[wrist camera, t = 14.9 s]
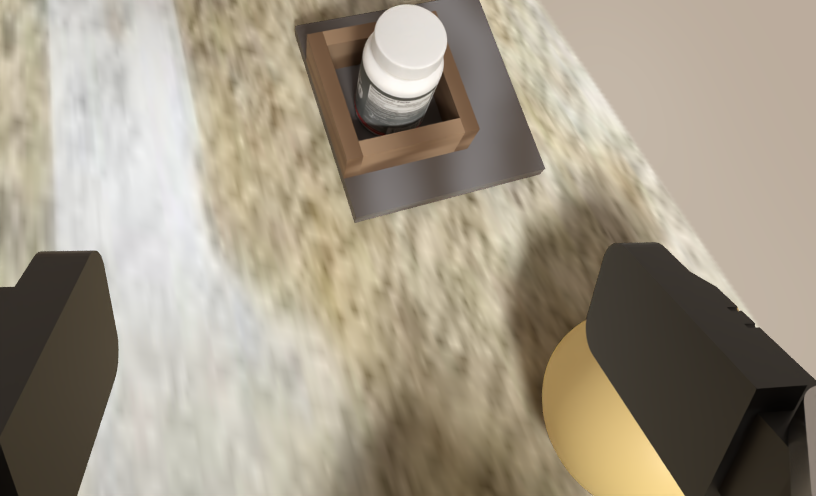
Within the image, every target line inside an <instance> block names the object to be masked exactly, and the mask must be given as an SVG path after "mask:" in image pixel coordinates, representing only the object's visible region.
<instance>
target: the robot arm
mask: <svg viewBox="0 0 816 496" xmlns="http://www.w3.org/2000/svg"><path fill="white" fill-rule="evenodd" d="M586 338H587V343H588V346H589V349H590V351H591V353H592V355H593V356H594V358H595V359H596V361H597V362H598V364H599V365H600V367H601V369H602V370H603V372H604V373H605V375H606V376H607V378H608V379H609V381H610V382H611V384H612V385H613V387H614V388H615V390H616V391H617V393H618V395H619V396H620V398H621V399H622V401H623V402H624V404H625V405H626V407H627V408H628V410H629V411H630V413H631V414H632V416H633V417H634V419H635V420H636V422H637V424H638V425H639V427H640V428H641V430H642V431H643V433H644V434H645V436H646V437H647V439H648V440H649V442H650V443H651V445H652V446H653V448H654V449H655V451H656V453H657V454H658V456H659V457H660V459H661V460H662V462H663V463H664V465H665V466H666V468H667V469H668V471H669V472H670V474H671V475H672V477H673V479H674V480H675V482H676V483H677V485H678V486H679V488H680V489H681V491H682V492H683V494H684V495H685V496H816V380H815V379H814V378H813V377H812V376H810V375H809V374H808V373H807V372H806V371H805V370H804V369H803V368H802V367H801V366H800V365H799V364H798V363H796V361H795V360H794V359H792V358H791V357H790V356H789V355H788V354H787V353H786V352H785V351H784V350H783V349H782V348H781V347H780V346H779V345H778V344H777V343H775V342H774V341H773V340H772V339H771V338H770V337H769V336H768V335H767V334H766V333H765V332H764V331H763V330H762V329H761V328H755V323H754V322H753V321H752V320H751V319H750V318H749V317H748V316H747V315H746V314H745V313H744V312H742V311H738V310H737V306H736V305H735V304H734V303H733V302H732V301H731V300H730V299H729V298H728V297H727V296H725V295H724V294H723V293H722V292H721V291H720V290H719V289H718V288H717V287H716V286H714V285H712V284H710V283H709V282H707V281H705V280H703V279H702V278H700V277H698V276H697V275H695V274H693V273H691V272H690V271H689V270H688V269H687V268H686V267H684V266H683V265H682V264H681V263H680V262H679V261H678V260H677V259H676V258H675V257H674V256H673V255H672V254H671V253H670V252H669V251H668V250H667V249H666V248H665V247H664V246H662V245H661V244H659V243H655V242H650V243H614V244H612V245H611V246H610V247H609V248H608V249H607V251H606V253H605V255H604V258H603V261H602V265H601V268H600V272H599V275H598V279H597V283H596V286H595V290H594V293H593V297H592V300H591V304H590V307H589V311H588V314H587V318H586ZM117 366H118V337H117V331H116V325H115V320H114V315H113V310H112V304H111V299H110V294H109V289H108V283H107V278H106V273H105V268H104V263H103V260H102V257H101V255H100V254H99V252H98V251H42V252H38V253H37V254H36V255H35V256H34V258H33V259H32V261H31V262H30V264H29V265H28V267H27V268H26V270H25V272H24V273H23V275H22V276H21V278H20V279H19V281H18V283H17V284H16V286H15V287H0V496H77V494H78V491H79V488H80V485H81V482H82V479H83V476H84V473H85V470H86V467H87V463H88V460H89V457H90V454H91V451H92V448H93V445H94V442H95V439H96V436H97V433H98V430H99V427H100V423H101V420H102V417H103V414H104V411H105V408H106V405H107V402H108V399H109V396H110V393H111V390H112V386H113V383H114V380H115V377H116V372H117Z"/></svg>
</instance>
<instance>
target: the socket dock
mask: <svg viewBox="0 0 816 496" xmlns="http://www.w3.org/2000/svg"><path fill="white" fill-rule="evenodd" d="M415 5H417V6H420V7H423V8H425V9H427V10H429V11H430V12H432V13H433V14H434V15H436V16H437V17H438V18H439V20H440V21H441V22H442V24H443V26H444V28H445V31H446V34H447V47H446V50H445V53H444V57H443V58H444V68H443V72H442V75H441V78H440V80H439V82H438V85H437V87H436V89H435V92H434V94H433V96H432V99H431V101H430V103H429V106H428V108H427V111H426V113H425V115H424V118H423V120H422V122H421V124H420V125H419V127H418V128H414V129H410V130H405V131H401V132H396V133H392V134H388V135H383V136H377V135H375V134H373V133H372V132H370V131H369V130H368V129H366V128H365V127H364V126H363V125H362V123H361V122H360V120H359V119H358V117H357V114H356V111H355V104H354V101H355V93H356V88H357V82H358V76H359V71H360V66H361V60H362V54H363V49H364V46H365V44H366V41H367V40H368V38H369V36H370V35H371V34H372V33H373V32H374V29H375V25H376V23H377V21H378V19H379V17H380V16H381V15H382V14H383V13H384V12H385V11H386V10H382V11H376V12H370V13H365V14H359V15H354V16H348V17H343V18H337V19H331V20H326V21H320V22H315V23H309V24H303V25H298V26H295V36H296V39H297V42H298V45H299V49H300V52H301V55H302V58H303V61H304V64H305V67H306V71H307V74H308V77H309V80H310V83H311V86H312V89H313V93H314V96H315V99H316V102H317V105H318V108H319V112H320V115H321V118H322V121H323V124H324V127H325V130H326V134H327V137H328V140H329V143H330V146H331V149H332V152H333V156H334V159H335V162H336V165H337V168H338V171H339V175H340V178H341V181H342V184H343V187H344V190H345V193H346V197H347V200H348V203H349V206H350V209H351V212H352V215H353V219H354V222H355V223H356V222H359V221H363V220H367V219H371V218H375V217H378V216H382V215H386V214H390V213H394V212H397V211H401V210H405V209H409V208H413V207H417V206H420V205H424V204H428V203H432V202H436V201H439V200H443V199H447V198H451V197H455V196H458V195H462V194H466V193H470V192H474V191H477V190H481V189H485V188H489V187H493V186H497V185H500V184H504V183H508V182H512V181H516V180H519V179H523V178H527V177H531V176H535V175H538V174H540V173H541V172H542V171H543V170H544V169H545V167H544V165H543V162H542V159H541V157H540V154H539V152H538V149H537V147H536V144H535V142H534V139H533V136H532V134H531V131H530V129H529V126H528V124H527V121H526V119H525V116H524V113H523V111H522V108H521V106H520V103H519V101H518V98H517V95H516V93H515V90H514V88H513V85H512V83H511V80H510V78H509V75H508V72H507V70H506V67H505V65H504V62H503V60H502V57H501V55H500V52H499V49H498V47H497V44H496V42H495V39H494V37H493V34H492V32H491V29H490V26H489V24H488V21H487V19H486V16H485V14H484V11H483V9H482V6H481V3H480V1H479V0H437V1H432V2H426V3H421V4H415ZM387 10H388V9H387Z"/></svg>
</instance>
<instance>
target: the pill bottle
mask: <svg viewBox="0 0 816 496" xmlns="http://www.w3.org/2000/svg"><path fill="white" fill-rule="evenodd" d="M446 47H447V34H446V31H445V28H444V26H443V24H442V22H441V21H440V20H439V18H438V17H437V16H436V15H434V14H433V13H432V12H430V11H429V10H427V9H425V8H423V7H420V6H417V5H410V4H402V5H397V6H394V7H391V8H390V9H388V10H386V11H385V12H384V13H383V14H382V15H381V16H380V17H379V19H378V21H377V23H376V25H375V29H374V32H373V33H372V34H371V35H370V36H369V38H368V40H367V41H366V44H365V46H364V49H363V54H362V60H361V66H360V71H359V76H358V82H357V88H356V93H355V101H354V104H355V111H356V114H357V117H358V119H359V120H360V122H361V123H362V125H363V126H364V127H365V128H366V129H368V130H369V131H370V132H372V133H373V134H375V135H377V136H383V135H388V134H392V133H396V132H401V131H405V130H410V129H414V128H418V127H419V125H420V124H421V122H422V120H423V118H424V115H425V113H426V111H427V108H428V106H429V103H430V101H431V99H432V96H433V94H434V92H435V89H436V87H437V85H438V82H439V80H440V78H441V75H442V72H443V68H444V58H443V57H444V53H445V50H446Z"/></svg>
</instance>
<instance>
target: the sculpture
mask: <svg viewBox="0 0 816 496" xmlns="http://www.w3.org/2000/svg"><path fill="white" fill-rule="evenodd" d="M737 310H738V308H737ZM738 311H739V310H738ZM542 407H543V415H544V421H545V425H546V429H547V432H548V435H549V438H550V440H551V443H552V445H553V447H554V449H555V451H556V453H557V455H558V457H559V459H560V460H561V462H562V463H563V465H564V466H565V468H566V469H567V470H568V472H569V473H570V474H571V475H572V477H573V478H574V479H575V480H576V481H577V482H578V483H579V484H580V485H581V486H582V487H583V488H584V489H586V490H587V491H588V492H589V493H591V494H592V495H593V496H685V495H684V494H683V492H682V491H681V489H680V488H679V486H678V485H677V483H676V482H675V480H674V479H673V477H672V475H671V474H670V472H669V471H668V469H667V468H666V466H665V465H664V463H663V462H662V460H661V459H660V457H659V456H658V454H657V453H656V451H655V449H654V448H653V446H652V445H651V443H650V442H649V440H648V439H647V437H646V436H645V434H644V433H643V431H642V430H641V428H640V427H639V425H638V424H637V422H636V420H635V419H634V417H633V416H632V414H631V413H630V411H629V410H628V408H627V407H626V405H625V404H624V402H623V401H622V399H621V398H620V396H619V395H618V393H617V391H616V390H615V388H614V387H613V385H612V384H611V382H610V381H609V379H608V378H607V376H606V375H605V373H604V372H603V370H602V369H601V367H600V365H599V364H598V362H597V361H596V359H595V358H594V356H593V355H592V353H591V351H590V349H589V346H588V343H587V338H586V320H585V321H583V322H582V323H580V324H579V325H577V326H576V327H575V328H573V329H572V330H571V331H570V332H569V333H568V334H567V335H566V336H565V337H564V338H563V339H562V340H561V341H560V343H559V344H558V345H557V347H556V348H555V350H554V352H553V353H552V355H551V357H550V360H549V362H548V365H547V368H546V371H545V375H544V380H543V388H542Z"/></svg>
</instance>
